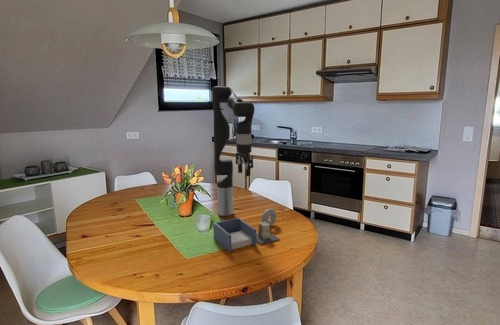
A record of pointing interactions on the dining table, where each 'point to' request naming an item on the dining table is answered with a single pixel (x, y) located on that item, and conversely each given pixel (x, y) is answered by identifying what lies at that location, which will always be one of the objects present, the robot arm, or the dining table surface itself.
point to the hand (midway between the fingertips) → (244, 174)
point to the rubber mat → (268, 240)
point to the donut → (266, 215)
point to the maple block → (264, 230)
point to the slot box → (234, 233)
